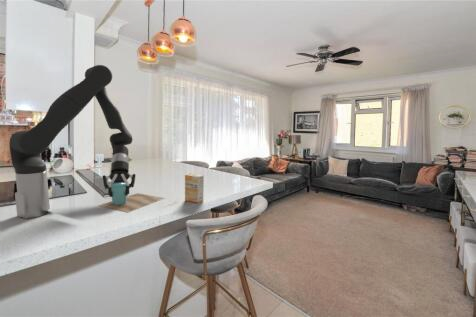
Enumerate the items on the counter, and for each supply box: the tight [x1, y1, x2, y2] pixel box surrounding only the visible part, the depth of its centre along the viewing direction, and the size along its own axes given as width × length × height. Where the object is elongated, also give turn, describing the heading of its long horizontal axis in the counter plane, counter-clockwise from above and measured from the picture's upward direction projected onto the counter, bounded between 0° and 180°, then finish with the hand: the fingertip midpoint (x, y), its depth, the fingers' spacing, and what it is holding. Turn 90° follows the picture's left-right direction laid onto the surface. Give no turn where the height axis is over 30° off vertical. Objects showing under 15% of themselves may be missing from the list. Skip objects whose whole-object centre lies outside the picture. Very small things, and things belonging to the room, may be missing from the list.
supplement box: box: [184, 172, 205, 204], centre depth 115 cm, size 8×5×13 cm, turn 62°
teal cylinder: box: [110, 182, 127, 205], centre depth 105 cm, size 6×6×9 cm
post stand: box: [97, 192, 165, 214], centre depth 107 cm, size 22×18×8 cm
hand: (118, 195), depth 103 cm, fingers closed on teal cylinder, 5 cm apart
